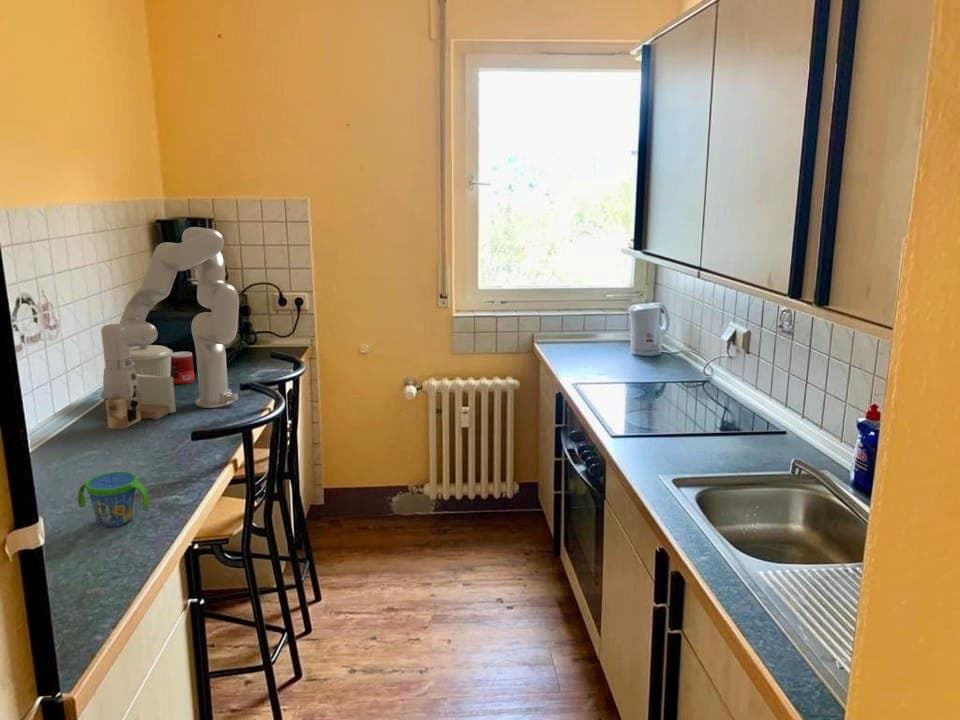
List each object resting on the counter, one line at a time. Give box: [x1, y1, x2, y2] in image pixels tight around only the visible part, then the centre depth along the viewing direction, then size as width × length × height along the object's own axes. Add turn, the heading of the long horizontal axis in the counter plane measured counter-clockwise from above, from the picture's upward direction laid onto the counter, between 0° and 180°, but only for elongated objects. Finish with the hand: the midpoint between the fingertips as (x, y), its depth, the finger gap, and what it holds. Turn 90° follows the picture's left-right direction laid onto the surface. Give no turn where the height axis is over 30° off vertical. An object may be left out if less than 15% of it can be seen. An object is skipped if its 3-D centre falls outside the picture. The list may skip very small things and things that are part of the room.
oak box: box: [104, 397, 142, 430], centre depth 239 cm, size 5×10×9 cm, turn 167°
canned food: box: [171, 351, 195, 385], centre depth 287 cm, size 8×8×11 cm
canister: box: [130, 344, 174, 377], centre depth 265 cm, size 18×18×21 cm
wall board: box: [137, 374, 177, 420], centre depth 250 cm, size 20×8×12 cm, turn 77°
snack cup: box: [77, 471, 150, 528], centre depth 174 cm, size 16×10×10 cm
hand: (124, 419), depth 240 cm, fingers closed on oak box, 5 cm apart
